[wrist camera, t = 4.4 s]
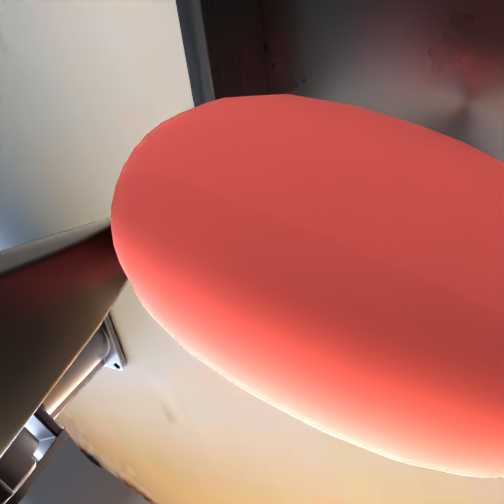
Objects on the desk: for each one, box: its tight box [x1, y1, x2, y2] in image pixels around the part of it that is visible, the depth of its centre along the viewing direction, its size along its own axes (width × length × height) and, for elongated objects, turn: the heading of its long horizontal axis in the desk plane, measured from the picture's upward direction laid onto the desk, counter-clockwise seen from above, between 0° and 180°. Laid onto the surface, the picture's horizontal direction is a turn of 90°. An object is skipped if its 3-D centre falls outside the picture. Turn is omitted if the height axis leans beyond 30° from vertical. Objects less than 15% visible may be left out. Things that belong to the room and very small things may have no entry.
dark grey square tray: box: [176, 0, 504, 162], centre depth 13 cm, size 17×15×4 cm
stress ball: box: [111, 94, 504, 478], centre depth 8 cm, size 5×9×6 cm, turn 70°
